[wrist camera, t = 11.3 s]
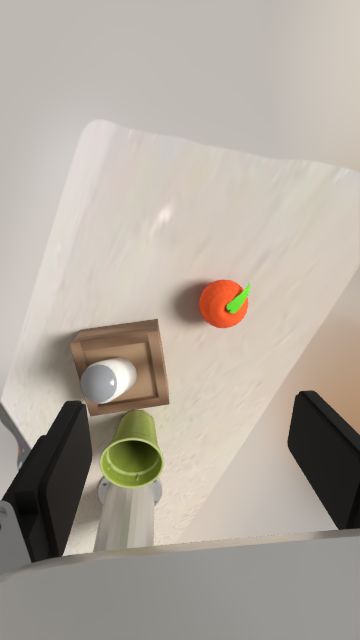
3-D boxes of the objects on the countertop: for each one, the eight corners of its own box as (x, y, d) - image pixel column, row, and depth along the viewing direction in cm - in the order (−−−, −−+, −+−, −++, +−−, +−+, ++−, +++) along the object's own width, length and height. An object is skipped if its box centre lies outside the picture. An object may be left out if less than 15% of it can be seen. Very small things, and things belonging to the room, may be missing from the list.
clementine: (224, 261, 37) (238, 266, 30) (253, 293, 39) (273, 304, 32) (186, 299, 39) (192, 311, 32) (216, 328, 40) (228, 345, 34)
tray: (168, 383, 43) (169, 404, 38) (99, 393, 43) (90, 416, 37) (157, 318, 40) (157, 331, 34) (82, 329, 39) (69, 343, 34)
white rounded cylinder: (143, 379, 34) (123, 390, 29) (116, 398, 35) (92, 413, 29) (123, 349, 35) (101, 354, 29) (98, 369, 36) (71, 378, 30)
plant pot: (115, 447, 46) (106, 492, 38) (106, 405, 43) (93, 444, 35) (165, 440, 47) (167, 483, 38) (159, 398, 44) (159, 434, 35)
